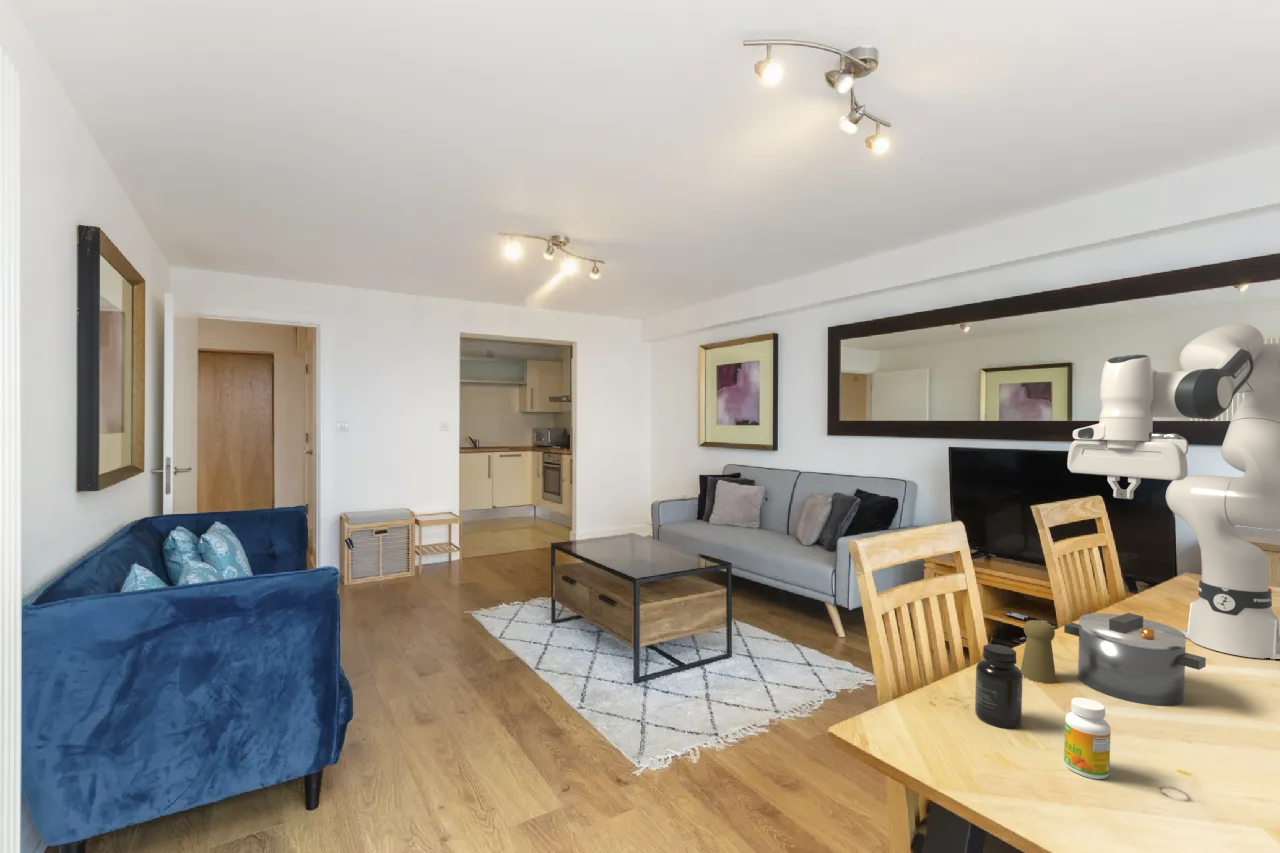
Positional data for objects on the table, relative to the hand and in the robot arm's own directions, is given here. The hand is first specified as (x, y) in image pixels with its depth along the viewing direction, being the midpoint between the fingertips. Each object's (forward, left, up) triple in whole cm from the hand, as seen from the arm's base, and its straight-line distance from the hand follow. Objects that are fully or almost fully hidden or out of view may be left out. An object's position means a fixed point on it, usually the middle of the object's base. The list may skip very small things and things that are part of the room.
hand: (1123, 498), depth 130 cm
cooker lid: (+11, +6, -25) cm, 28 cm away
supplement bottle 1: (+47, +1, -35) cm, 59 cm away
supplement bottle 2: (+51, +16, -35) cm, 64 cm away
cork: (+22, -5, -35) cm, 42 cm away
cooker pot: (+11, +6, -35) cm, 37 cm away
